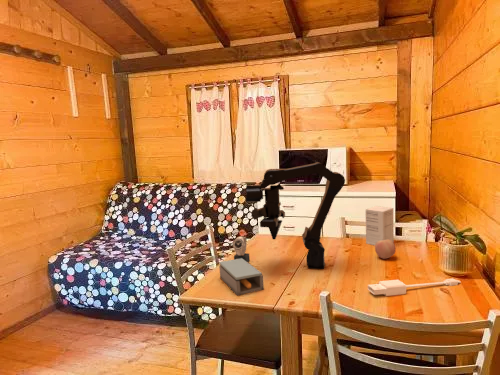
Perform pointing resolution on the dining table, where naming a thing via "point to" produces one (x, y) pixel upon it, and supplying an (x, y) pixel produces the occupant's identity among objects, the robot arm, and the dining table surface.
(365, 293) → the dining table surface
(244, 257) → the watch
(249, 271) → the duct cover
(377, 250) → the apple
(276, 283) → the dining table surface
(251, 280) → the cable duct
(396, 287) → the charging cable
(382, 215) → the supplement box
